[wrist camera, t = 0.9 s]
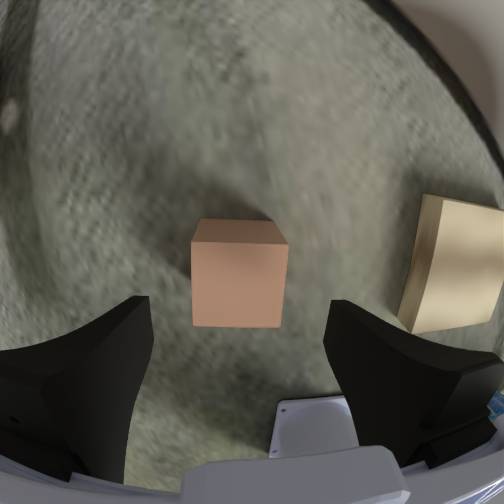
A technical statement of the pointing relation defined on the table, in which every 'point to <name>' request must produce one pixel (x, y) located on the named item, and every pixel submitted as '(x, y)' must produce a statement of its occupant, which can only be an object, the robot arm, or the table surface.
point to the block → (238, 273)
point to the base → (453, 265)
